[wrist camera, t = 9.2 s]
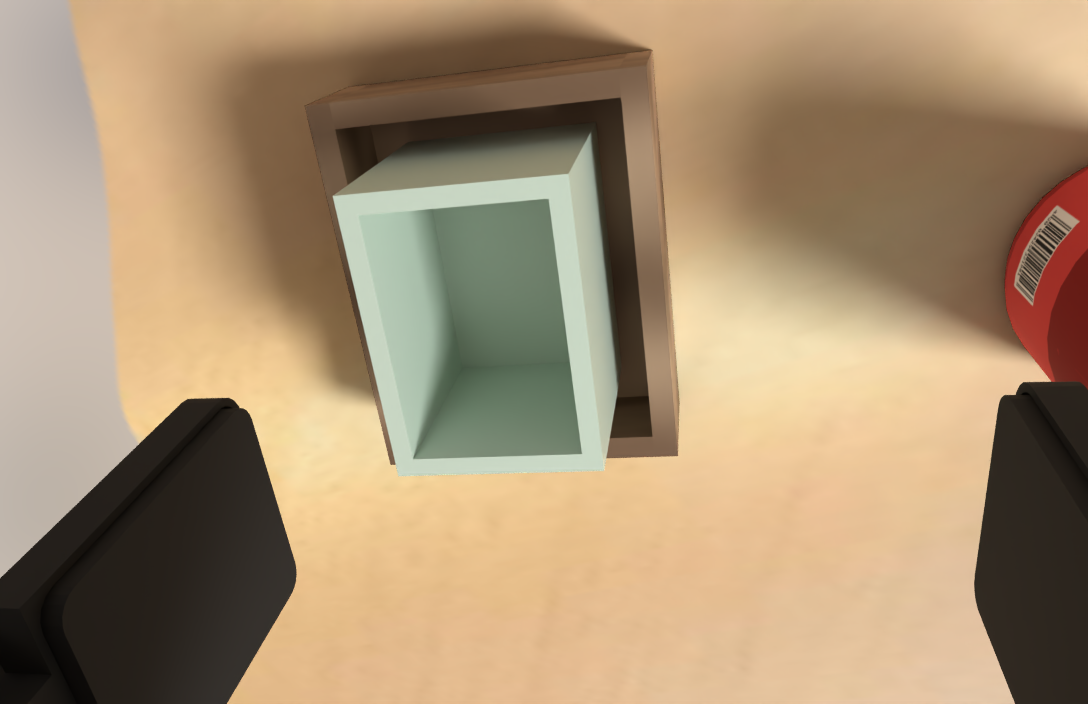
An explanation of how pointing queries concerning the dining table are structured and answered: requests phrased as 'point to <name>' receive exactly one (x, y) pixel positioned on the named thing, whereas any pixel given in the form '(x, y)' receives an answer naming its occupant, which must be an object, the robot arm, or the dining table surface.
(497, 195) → the small crate
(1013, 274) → the canned food
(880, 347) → the dining table surface
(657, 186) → the large crate
